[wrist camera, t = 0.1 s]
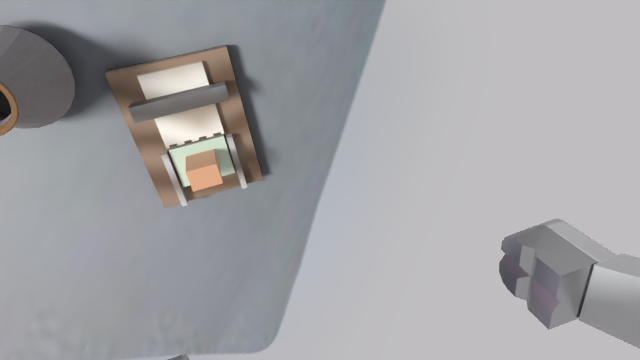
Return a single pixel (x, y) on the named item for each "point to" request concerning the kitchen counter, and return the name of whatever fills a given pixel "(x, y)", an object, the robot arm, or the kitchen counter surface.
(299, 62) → the kitchen counter surface
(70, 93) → the coffee pot
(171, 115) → the ticket board
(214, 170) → the orange block with base
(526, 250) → the robot arm
